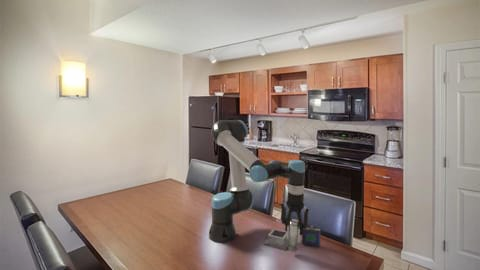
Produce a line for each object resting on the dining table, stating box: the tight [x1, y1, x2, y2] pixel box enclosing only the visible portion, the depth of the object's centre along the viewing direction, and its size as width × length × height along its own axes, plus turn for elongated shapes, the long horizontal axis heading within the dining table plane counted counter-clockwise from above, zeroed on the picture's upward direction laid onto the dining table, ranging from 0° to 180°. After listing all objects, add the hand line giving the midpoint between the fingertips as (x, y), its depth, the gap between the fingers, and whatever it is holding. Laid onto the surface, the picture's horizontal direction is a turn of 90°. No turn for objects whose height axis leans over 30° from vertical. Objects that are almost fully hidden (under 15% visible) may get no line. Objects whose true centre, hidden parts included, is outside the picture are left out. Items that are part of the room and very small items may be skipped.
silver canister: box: [288, 218, 300, 252], centre depth 127 cm, size 5×5×14 cm
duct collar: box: [263, 228, 289, 251], centre depth 140 cm, size 12×12×5 cm
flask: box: [301, 224, 321, 248], centre depth 136 cm, size 9×3×11 cm, turn 78°
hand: (293, 239), depth 127 cm, fingers closed on silver canister, 5 cm apart
